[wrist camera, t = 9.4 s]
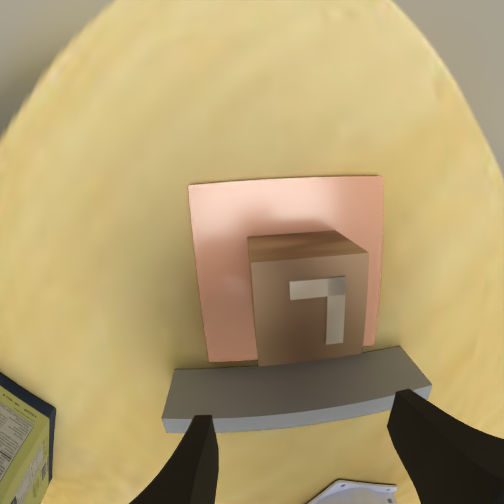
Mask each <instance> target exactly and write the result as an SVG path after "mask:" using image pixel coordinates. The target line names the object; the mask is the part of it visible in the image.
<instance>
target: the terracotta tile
mask: <svg viewBox="0 0 504 504" xmlns="http://www.w3.org/2000/svg"><path fill="white" fill-rule="evenodd" d="M188 190H189V202H190V213H191V223H192V233H193V243H194V252H195V261H196V269H197V278H198V286H199V294H200V302H201V309H202V317H203V324H204V331H205V338H206V345H207V351H208V358H209V362H227V361H243V360H257V359H258V356H257V347H256V338H255V329H254V319H253V306H252V293H251V280H250V266H249V253H248V239H247V237H250V236H263V235H276V234H290V233H304V232H318V231H333V230H336V231H337V232H339V233H340V234H342V235H343V236H345V237H346V238H348V239H349V240H351V241H352V242H354V243H355V244H357V245H358V246H360V247H361V248H363V249H364V250H366V251H367V252H369V271H368V291H367V306H366V320H365V331H364V341H363V347H365V346H371V345H374V344H375V336H376V327H377V318H378V307H379V296H380V283H381V266H382V244H383V176H331V177H299V178H277V179H259V180H244V181H230V182H217V183H205V184H194V185H188Z"/></svg>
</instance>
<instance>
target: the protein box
mask: <svg viewBox="0 0 504 504" xmlns="http://www.w3.org/2000/svg"><path fill="white" fill-rule="evenodd" d="M55 415H56V409H55V408H53V407H52V406H50V405H48V404H47V403H45V402H43V401H42V400H40V399H38V398H37V397H35V396H33V395H32V394H30V393H29V392H27V391H26V390H24V389H23V388H21V387H20V386H18V385H17V384H15V383H14V382H12V381H11V380H9V379H8V378H6V377H5V376H3V375H2V374H1V373H0V504H40V503H41V501H42V499H43V497H44V495H45V492H46V490H47V488H48V486H49V483H50V481H51V479H52V457H53V439H54V426H55Z"/></svg>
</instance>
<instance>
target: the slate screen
mask: <svg viewBox="0 0 504 504" xmlns="http://www.w3.org/2000/svg"><path fill="white" fill-rule="evenodd" d="M431 388H432V384H431V383H430V381H429V380H428V379H427V378H426V377H425V375H424V374H423V373H422V372H421V370H420V369H419V368H418V367H417V366H416V364H415V363H414V362H413V361H412V360H411V358H410V357H409V356H408V355H407V354H406V352H405V351H404V350H403V349H402V348H401V346H398V347H393V348H388V349H382V350H377V351H371V352H365V353H361V354H355V355H349V356H343V357H336V358H329V359H322V360H314V361H306V362H298V363H289V364H280V365H269V366H247V367H231V368H211V369H175V371H174V375H173V378H172V382H171V386H170V389H169V393H168V397H167V400H166V404H165V408H164V412H163V415H162V421H163V424H164V427H165V430H166V433H186V431H187V429H188V427H189V425H190V423H191V421H192V419H193V417H194V416H195V415H212V418H213V424H214V429H215V433H226V432H246V431H260V430H272V429H282V428H291V427H299V426H307V425H314V424H320V423H327V422H333V421H339V420H344V419H349V418H355V417H360V416H364V415H369V414H374V413H378V412H382V411H387V410H391V409H392V406H393V402H394V398H395V393H396V391H400V390H405V389H411V390H412V391H414V392H415V393H417V394H418V395H420V396H421V397H423V398H424V399H426V400H427V399H428V397H429V394H430V391H431Z"/></svg>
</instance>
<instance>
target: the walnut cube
mask: <svg viewBox="0 0 504 504" xmlns="http://www.w3.org/2000/svg"><path fill="white" fill-rule="evenodd" d="M247 239H248V253H249V266H250V280H251V293H252V306H253V319H254V329H255V338H256V347H257V356H258V366H269V365H280V364H289V363H298V362H306V361H314V360H322V359H329V358H336V357H343V356H349V355H355V354H361V353H362V351H363V341H364V331H365V320H366V306H367V291H368V271H369V252H367V251H366V250H364V249H363V248H361V247H360V246H358V245H357V244H355V243H354V242H352V241H351V240H349V239H348V238H346V237H345V236H343V235H342V234H340V233H339V232H337V231H336V230H333V231H318V232H304V233H290V234H276V235H263V236H250V237H247Z"/></svg>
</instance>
